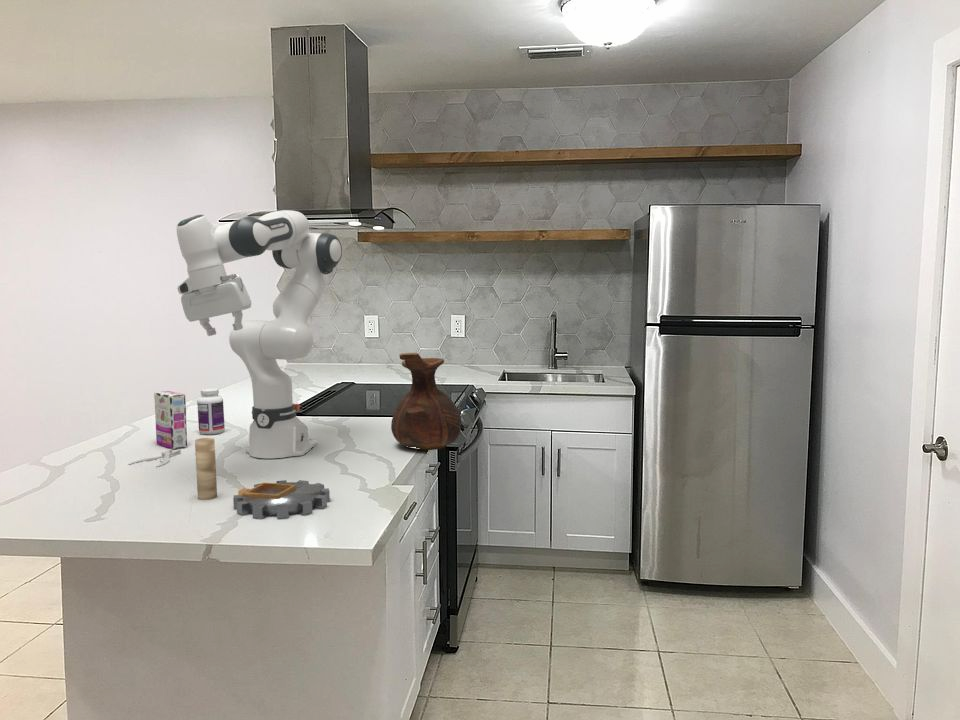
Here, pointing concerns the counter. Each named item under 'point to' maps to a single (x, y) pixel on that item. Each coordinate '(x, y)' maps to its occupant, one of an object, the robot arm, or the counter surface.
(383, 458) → the counter surface
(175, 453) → the pliers
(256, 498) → the sprocket
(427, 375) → the jug
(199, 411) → the pill bottle
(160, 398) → the candy bar box
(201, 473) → the drive pin
